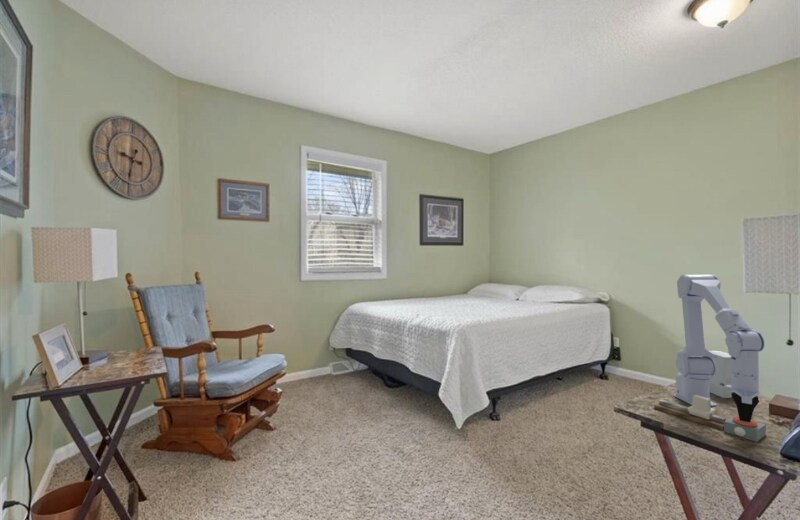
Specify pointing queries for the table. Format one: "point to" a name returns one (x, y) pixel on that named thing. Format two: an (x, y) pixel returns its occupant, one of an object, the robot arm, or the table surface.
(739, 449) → the table surface
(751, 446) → the table surface
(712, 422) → the rail board
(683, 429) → the table surface
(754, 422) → the button
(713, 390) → the skincare box
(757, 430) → the grey square base
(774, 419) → the table surface
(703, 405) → the carriage
